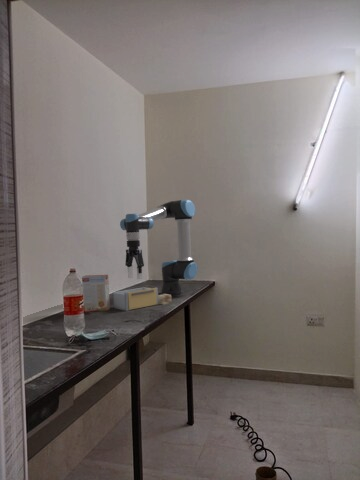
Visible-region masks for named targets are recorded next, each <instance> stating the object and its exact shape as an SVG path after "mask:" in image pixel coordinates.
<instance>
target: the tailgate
mask: <svg viewBox="0 0 360 480" xmlns="http://www.w3.org/2000/svg"><path fill="white" fill-rule="evenodd" d="M156 288H157V287H154V288H151V289H146V290H140V291H134V292H128V308H129V311H131V310H130V309H132V310H136V309H135V308H138V309H141V308H140V307H143V308H146V307H145V306H148V307H152V306H151V305H153V306H157V305H156V304H157V294H156Z"/></svg>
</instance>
